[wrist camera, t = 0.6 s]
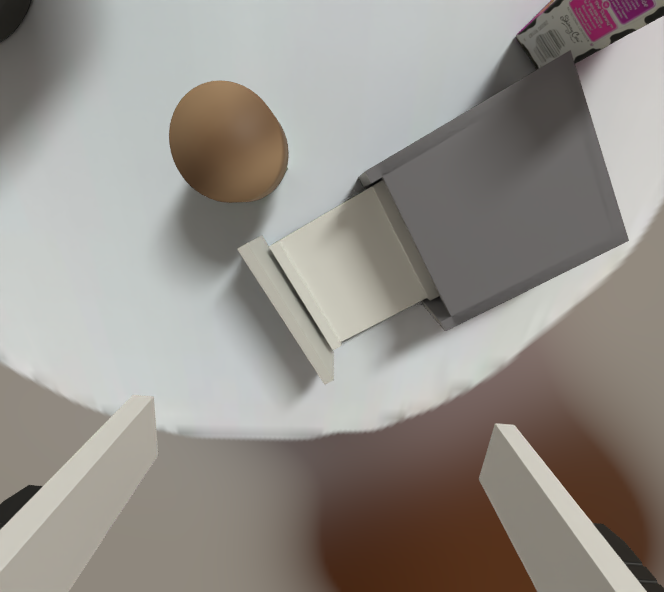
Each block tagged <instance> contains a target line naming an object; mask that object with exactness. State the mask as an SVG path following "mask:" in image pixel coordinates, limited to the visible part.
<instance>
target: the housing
mask: <svg viewBox="0 0 664 592" xmlns="http://www.w3.org/2000/svg"><path fill="white" fill-rule="evenodd" d="M358 178H359V179H360V181H361V183H362V185H363V187H364V189H365V190H366V189H368V188H370V187H372V186H373V185H375V184H377V183H378V182H380V181H382V180H383V182H384V184H385V186H386V188H387V190H388V192H389V194H390V196H391V198H392V200H393V202H394V204H395V206H396V208H397V210H398V212H399V214H400V216H401V218H402V220H403V222H404V224H405V226H406V229H407V231H408V233H409V235H410V237H411V239H412V241H413V243H414V245H415V247H416V249H417V251H418V253H419V255H420V257H421V259H422V261H423V263H424V265H425V267H426V269H427V271H428V273H429V275H430V277H431V279H432V281H433V284H434V286H435V288H436V290H437V292H438V294H439V296H438V297H436V298H434V299H432V300H429V299H428V298H426V299H424V300H422V303H423V305H424V307H425V308H426V309H427V310H428V311H429V313H430V314H431V315H432V316H433V317H434V318H435V320H436V321H437V322H438V323H439V324H440V326H441V327H442V328H443V329H444V330H445V331H447V330H449V329H451V328H453V327H455V326H457V325H459V324H461V323H463V322H465V321H467V320H469V319H471V318H473V317H475V316H477V315H479V314H481V313H483V312H485V311H487V310H489V309H491V308H493V307H496V306H498V305H500V304H502V303H504V302H506V301H508V300H510V299H512V298H514V297H516V296H518V295H520V294H522V293H524V292H526V291H528V290H530V289H532V288H534V287H536V286H538V285H540V284H542V283H544V282H546V281H548V280H550V279H552V278H554V277H556V276H558V275H560V274H562V273H564V272H566V271H568V270H570V269H572V268H574V267H577V266H579V265H581V264H583V263H585V262H587V261H589V260H591V259H593V258H595V257H597V256H599V255H601V254H603V253H605V252H607V251H609V250H611V249H613V248H615V247H617V246H619V245H621V244H623V243H625V242H627V241H629V240H628V236H627V233H626V230H625V226H624V223H623V220H622V217H621V213H620V210H619V207H618V204H617V200H616V197H615V194H614V191H613V187H612V184H611V181H610V177H609V174H608V171H607V168H606V164H605V161H604V158H603V155H602V151H601V148H600V145H599V141H598V138H597V135H596V132H595V128H594V125H593V122H592V119H591V115H590V112H589V109H588V106H587V102H586V99H585V96H584V92H583V89H582V86H581V83H580V79H579V76H578V73H577V70H576V66H575V63H574V60H573V57H572V53H571V50H570V51H568V52H566V53H565V54H563V55H561V56H559V57H558V58H556V59H554V60H553V61H551V62H549V63H548V64H546V65H544V66H543V67H541V68H539V69H537V70H536V71H534V72H532V73H531V74H529V75H527V76H526V77H524V78H522V79H521V80H519V81H517V82H516V83H514V84H512V85H510V86H509V87H507V88H505V89H504V90H502V91H500V92H499V93H497V94H495V95H494V96H492V97H490V98H488V99H487V100H485V101H483V102H482V103H480V104H478V105H477V106H475V107H473V108H472V109H470V110H468V111H466V112H465V113H463V114H461V115H460V116H458V117H456V118H455V119H453V120H451V121H450V122H448V123H446V124H445V125H443V126H441V127H439V128H438V129H436V130H434V131H433V132H431V133H429V134H428V135H426V136H424V137H423V138H421V139H419V140H417V141H416V142H414V143H412V144H411V145H409V146H407V147H406V148H404V149H402V150H401V151H399V152H397V153H396V154H394V155H392V156H390V157H389V158H387V159H385V160H384V161H382V162H380V163H379V164H377V165H375V166H374V167H372V168H370V169H368V170H367V171H365V172H364V173H363V174H362V175H361V176H359V177H358Z"/></svg>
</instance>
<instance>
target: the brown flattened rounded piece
mask: <svg viewBox="0 0 664 592" xmlns="http://www.w3.org/2000/svg"><path fill="white" fill-rule="evenodd" d="M169 142H170V149H171V153H172V157H173V160H174V162H175V165H176V167H177V169H178V170H179V172H180V174H181V175H182V177H183V178H184V179H185V180H186V182H187V183H188V184H189V185H190V186H191V187H192V188H194V189H195V190H196V191H197V192H199V193H200V194H202V195H204V196H206V197H208V198H210V199H213V200H216V201H220V202H229V203H232V202H251V201H256V200H259V199H261V198H263V197H265V196H267V195H268V194H270V193H271V192H272V191H273V190H274V189H275V188H276V187H277V186H278V185H279V184H280V182H281V180H282V179H283V177H284V174H285V172H286V168H287V164H288V144H287V139H286V136H285V133H284V131H283V129H282V127H281V125H280V123H279V122H278V120H277V119H276V117H275V116H274V114H273V113H272V112H271V110H270V109H269V107H268V106H267V105H266V104H265V102H264V101H263V100H262V99H261V98H260V97H259V96H258V95H257V94H255V93H254V92H253V91H251V90H250V89H248V88H246V87H244V86H242V85H240V84H237V83H233V82H229V81H211V82H207V83H204V84H201V85H199V86H197V87H195V88H193V89H192V90H191V91H189V92H188V93H187V94H186V95H185V96H184V97H183V98H182V99H181V101H180V102H179V104H178V105H177V107H176V109H175V111H174V113H173V116H172V119H171V123H170V130H169Z"/></svg>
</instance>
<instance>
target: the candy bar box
mask: <svg viewBox="0 0 664 592" xmlns="http://www.w3.org/2000/svg"><path fill="white" fill-rule="evenodd" d="M662 16H664V0H551V1H550V2H549V3H548V4H547V5H546V6H545V7H544V8H543V9H542V10H541V11H540V12H539V13H538V14H537V15H536V16H535V17H534V18H533V19H532V20H531V21H530V22H529V23H528V24H527V25H526V26H525V27H524V28H523V29H522V30H521V31H520V32H519V33H518V34H517V35H516V38H517V40H518V41H519V43H520V45H521V46H522V47H523V49H524V50H525V51H526V53H527V54H528V56H529V57H530V59H531V61H532V62H533V64H534V65H535V67H536V69H539V68H541V67H543V66H544V65H546V64H548V63H549V62H551V61H553V60H554V59H556V58H558V57H559V56H561V55H563V54H565V53H566V52H568V51H570V50H571V53H572V57H573V60H574V63H577V62H579V61H581V60H582V59H584V58H586V57H588V56H590V55H592V54H593V53H595V52H597V51H599V50H601V49H603V48H605V47H606V46H608V45H610V44H612V43H614V42H615V41H617V40H619V39H621V38H623V37H624V36H626V35H628V34H630V33H632V32H634V31H636V30H638V29H640V28H642V27H643V26H645V25H647V24H649V23H651V22H653V21H655V20H656V19H658V18H660V17H662Z"/></svg>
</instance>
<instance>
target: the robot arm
mask: <svg viewBox="0 0 664 592" xmlns="http://www.w3.org/2000/svg"><path fill="white" fill-rule="evenodd" d="M30 2H31V0H0V42H1V41H2V40H4V39H5V38H7V37H8V36H9V35H10V34H11V33H12V32H13V31H14V30H15V29H16V28H17V27H18V25H19V24H20V23H21V21H22V20H23V18H24V16H25V14H26V12H27V10H28V7H29V5H30ZM157 456H158V448H157V435H156V421H155V408H154V397H153V396H140V395H132V396H131V397H130V398H129V399H128V400H127V401H126V403H125V404H124V405H123V406H122V407H121V408H120V409H119V410H118V411H117V412H116V413H115V414H114V415H113V416H112V417H111V418H110V419H109V420H108V421H107V422H106V423H105V424H104V425H103V426H102V427H101V428H100V429H99V430H98V431H97V432H96V433H95V434H94V435H93V436H92V437H91V438H90V439H89V440H88V441H87V442H86V443H85V444H84V445H83V446H82V447H81V448H80V449H79V450H78V451H77V452H76V454H74V455H73V457H71V458H70V460H69V461H68V462H67V463H66V464H65V465H64V466H63V467H62V468H61V469H60V470H59V471H58V472H57V473H56V474H55V475H54V476H53V477H52V478H51V479H50V480H49V481H48V482H47V483H46V484H45V485H44V486H34V485H28V486H27V487H25V488H24V489H22V490H20V491H19V492H17V493H16V494H14V495H13V496H11V497H9V498H8V499H6V500H5V501H3V502H2V503H1V504H0V592H69V590H70V589H71V587H72V585H73V584H74V582H75V581H76V579H77V578H78V576H79V575H80V573H81V572H82V570H83V569H84V567H85V566H86V564H87V563H88V561H89V560H90V558H91V557H92V555H93V554H94V552H95V551H96V549H97V548H98V546H99V545H100V543H101V542H102V540H103V539H104V537H105V535H106V534H107V532H108V531H109V529H110V528H111V526H112V525H113V523H114V522H115V520H116V519H117V517H118V516H119V514H120V513H121V511H122V510H123V508H124V507H125V505H126V504H127V502H128V501H129V499H130V498H131V496H132V494H133V493H134V491H135V490H136V488H137V487H138V485H139V484H140V482H141V481H142V479H143V478H144V476H145V475H146V473H147V472H148V470H149V469H150V467H151V466H152V464H153V463H154V461H155V460H156V458H157ZM479 480H480V482H481V484H482V486H483V488H484V490H485V492H486V494H487V495H488V497H489V499H490V501H491V503H492V505H493V507H494V509H495V511H496V513H497V515H498V517H499V519H500V520H501V522H502V524H503V526H504V528H505V530H506V532H507V534H508V536H509V538H510V540H511V542H512V544H513V546H514V547H515V549H516V551H517V553H518V555H519V557H520V559H521V561H522V563H523V565H524V567H525V568H526V571H527V572H528V574H529V576H530V578H531V580H532V582H533V584H534V586H535V588H536V590H537V592H664V588H663V587H662V586H661V585H659V584H658V583H657V580H656V578H655V577H654V576H653V575H652V574H651V573H650V571H649V570H648V569H647V568H646V567H644V566H643V565H642V562H641V561H640V560H639V558H638V557H637V556H636V555H635V554H634V552H633V551H632V550H631V549H630V548H629V547H628V545H627V544H626V543H625V542H624V541H623V540H622V539H620V538H619V537H618V536H617V535H616V534H615V533H613V532H612V531H611V530H610V529H608V528H607V527H606V526H605V525H604V524H596V523H592V522H591V521H590V520H589V518H588V517H587V516H586V515H585V513H584V512H583V511H582V510H581V508H580V507H579V506H578V504H577V503H576V502H575V501H574V499H573V498H572V497H571V496H570V494H569V493H568V492H567V491H566V489H565V488H564V487H563V486H562V484H561V483H560V482H559V481H558V479H557V478H556V477H555V476H554V474H553V473H552V472H551V471H550V469H549V468H548V467H547V466H546V464H545V463H544V462H543V461H542V459H541V458H540V457H539V456H538V454H537V453H536V452H535V450H534V449H533V448H532V447H531V445H530V444H529V443H528V442H527V440H526V439H525V438H524V437H523V435H522V434H521V433H520V432H519V430H518V429H517V428H516V427H515V425H507V424H495V426H494V429H493V432H492V436H491V439H490V443H489V447H488V450H487V453H486V457H485V460H484V464H483V467H482V470H481V474H480V477H479Z"/></svg>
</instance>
